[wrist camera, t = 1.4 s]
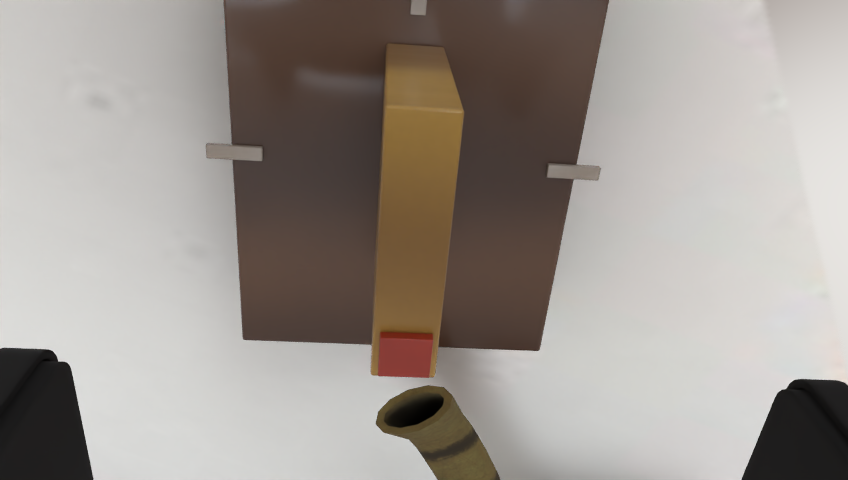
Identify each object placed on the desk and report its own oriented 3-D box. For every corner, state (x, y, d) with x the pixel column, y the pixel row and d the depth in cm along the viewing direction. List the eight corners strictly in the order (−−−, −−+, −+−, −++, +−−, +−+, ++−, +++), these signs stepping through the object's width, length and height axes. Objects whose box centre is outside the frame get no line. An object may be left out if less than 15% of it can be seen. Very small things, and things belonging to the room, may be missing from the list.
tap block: (219, -117, 17) (185, -116, 14) (612, -83, 18) (653, -75, 15) (241, 285, 23) (220, 343, 20) (540, 299, 24) (560, 356, 21)
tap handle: (386, 42, 16) (384, 109, 12) (444, 46, 16) (466, 114, 12) (375, 260, 19) (369, 383, 14) (424, 262, 19) (435, 385, 14)
